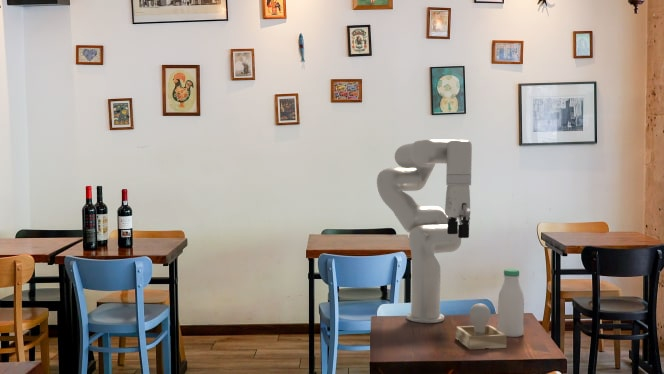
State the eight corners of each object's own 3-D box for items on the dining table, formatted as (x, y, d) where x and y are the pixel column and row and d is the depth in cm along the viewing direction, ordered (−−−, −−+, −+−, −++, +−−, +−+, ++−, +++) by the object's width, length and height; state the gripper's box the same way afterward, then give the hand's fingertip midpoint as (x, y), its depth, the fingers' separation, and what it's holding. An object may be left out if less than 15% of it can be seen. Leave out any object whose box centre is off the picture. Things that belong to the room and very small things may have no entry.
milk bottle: (524, 338, 217) (525, 272, 216) (497, 336, 219) (499, 271, 218) (522, 331, 225) (523, 268, 224) (497, 330, 227) (498, 267, 225)
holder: (455, 338, 217) (455, 326, 217) (490, 336, 219) (490, 325, 218) (470, 349, 205) (470, 336, 205) (506, 347, 207) (506, 335, 207)
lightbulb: (493, 340, 213) (494, 303, 212) (483, 344, 208) (483, 306, 208) (475, 336, 217) (476, 300, 216) (464, 340, 212) (465, 303, 212)
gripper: (437, 179, 228) (437, 232, 229) (456, 181, 211) (456, 239, 212) (460, 179, 230) (459, 232, 231) (481, 181, 213) (480, 239, 214)
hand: (457, 235), depth 221 cm, fingers open, 9 cm apart
